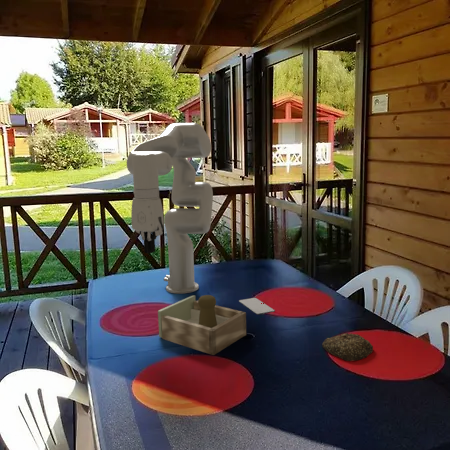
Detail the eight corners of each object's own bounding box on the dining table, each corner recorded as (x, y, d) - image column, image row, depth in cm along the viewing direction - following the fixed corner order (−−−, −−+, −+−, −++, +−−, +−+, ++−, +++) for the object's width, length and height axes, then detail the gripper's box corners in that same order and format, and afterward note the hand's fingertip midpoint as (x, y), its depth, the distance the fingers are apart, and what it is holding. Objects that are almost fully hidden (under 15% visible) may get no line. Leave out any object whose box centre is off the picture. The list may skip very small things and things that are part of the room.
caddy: (162, 338, 140) (161, 316, 139) (197, 321, 153) (196, 300, 151) (213, 355, 129) (212, 331, 128) (246, 334, 142) (245, 312, 140)
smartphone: (257, 314, 157) (237, 300, 170) (257, 315, 157) (238, 301, 171) (275, 310, 160) (255, 297, 173) (275, 312, 160) (255, 298, 173)
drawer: (159, 336, 141) (157, 310, 139) (193, 319, 153) (192, 295, 152) (208, 352, 130) (207, 324, 128) (241, 332, 143) (240, 306, 141)
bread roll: (346, 365, 122) (346, 347, 121) (316, 347, 133) (316, 330, 132) (383, 354, 128) (383, 337, 127) (351, 337, 139) (351, 321, 138)
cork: (221, 328, 142) (220, 293, 140) (214, 337, 136) (213, 300, 134) (202, 326, 144) (200, 292, 142) (194, 334, 138) (193, 298, 136)
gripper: (120, 194, 147) (124, 251, 150) (155, 197, 138) (158, 258, 141) (138, 191, 153) (141, 247, 156) (173, 194, 144) (175, 252, 147)
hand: (149, 252), depth 149 cm, fingers closed
